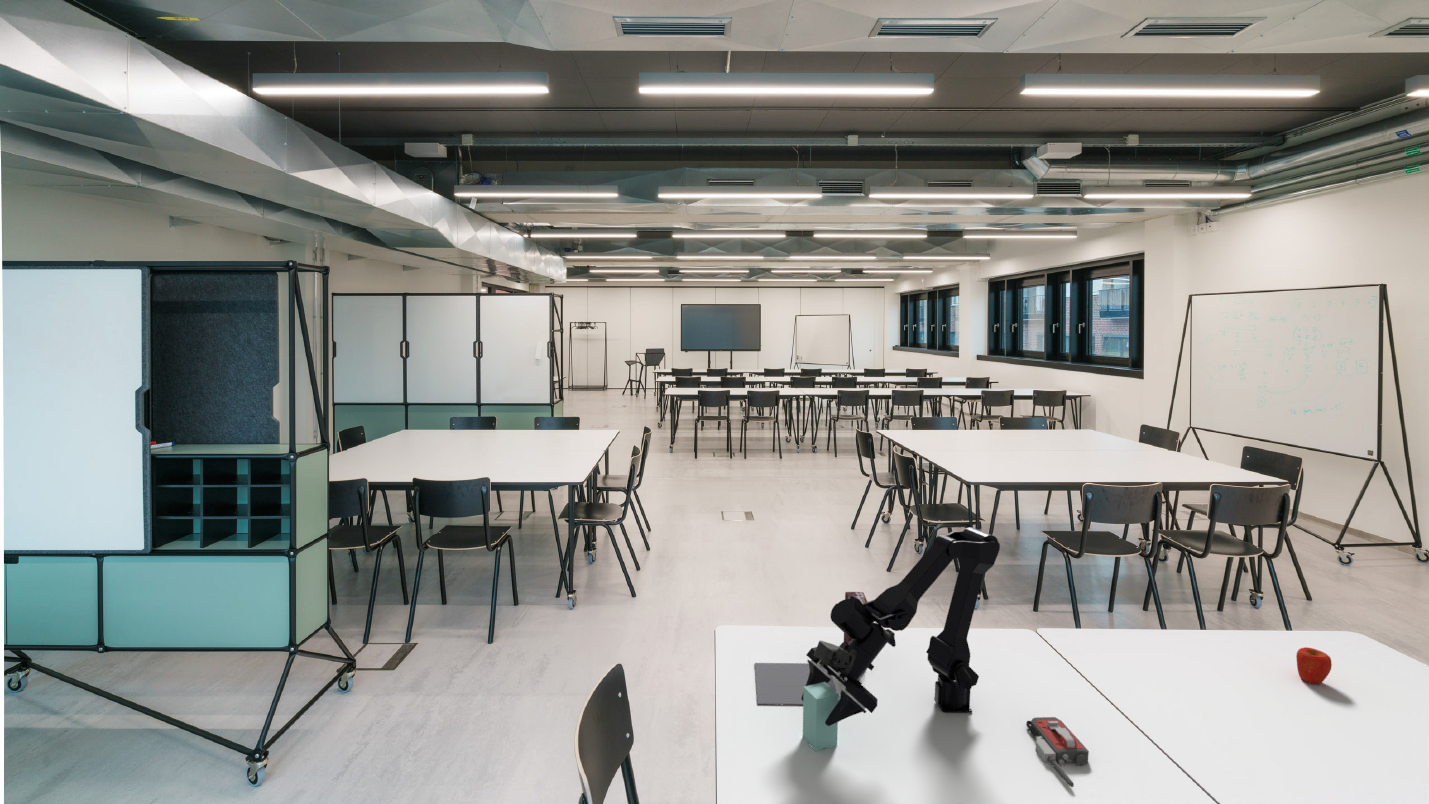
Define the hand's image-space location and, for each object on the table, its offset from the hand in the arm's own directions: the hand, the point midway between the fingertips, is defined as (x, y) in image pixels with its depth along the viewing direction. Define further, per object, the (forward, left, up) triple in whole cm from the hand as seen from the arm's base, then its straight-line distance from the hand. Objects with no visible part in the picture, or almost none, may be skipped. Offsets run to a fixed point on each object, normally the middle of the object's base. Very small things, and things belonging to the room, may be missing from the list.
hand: (814, 712), depth 143 cm
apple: (-119, -27, -7) cm, 122 cm away
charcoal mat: (+2, -23, -7) cm, 24 cm away
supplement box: (-14, -35, -7) cm, 38 cm away
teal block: (-1, -1, -7) cm, 7 cm away
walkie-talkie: (-48, +3, -7) cm, 48 cm away
